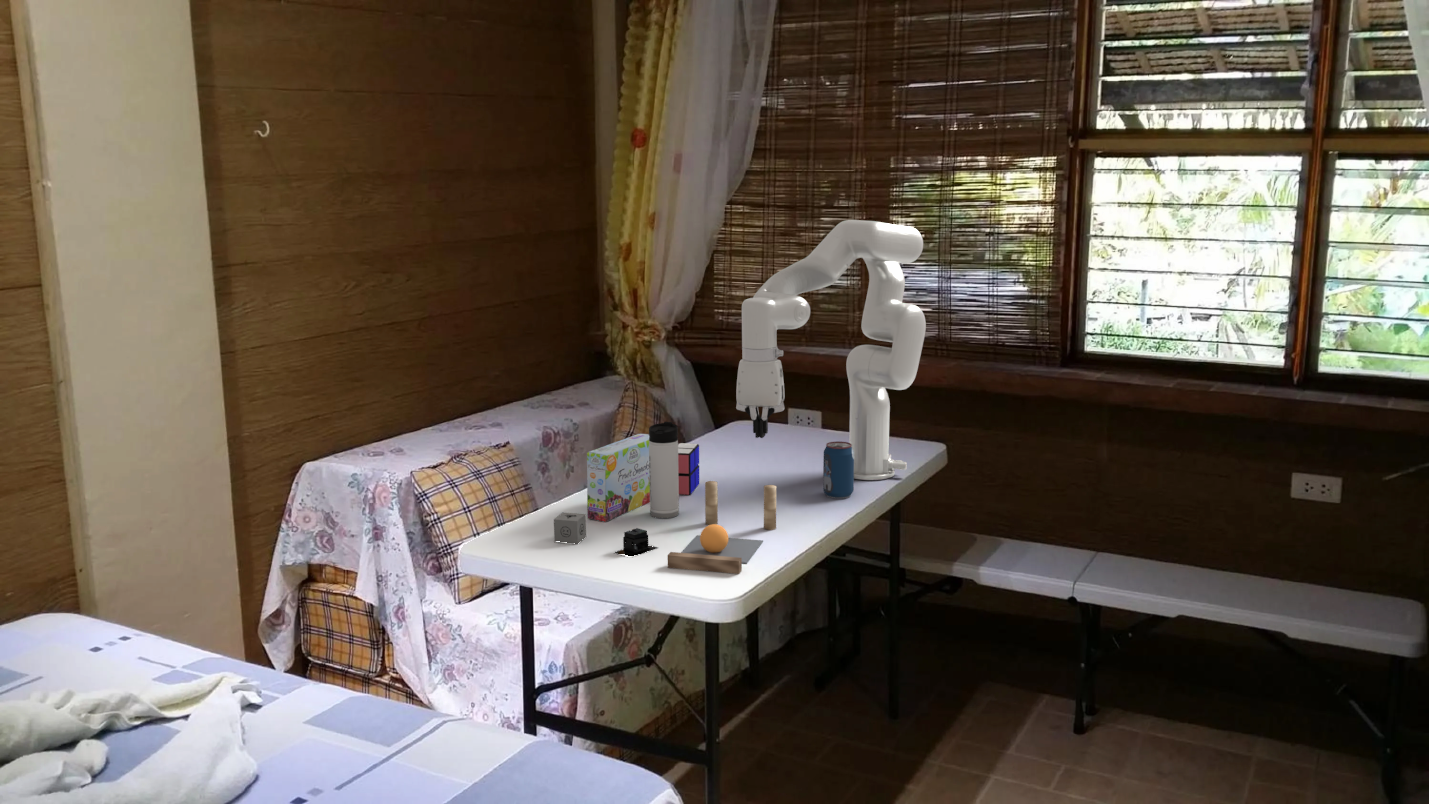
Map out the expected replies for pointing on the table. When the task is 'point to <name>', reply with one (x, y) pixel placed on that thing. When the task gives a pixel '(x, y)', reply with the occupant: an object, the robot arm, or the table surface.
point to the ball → (714, 538)
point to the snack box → (618, 478)
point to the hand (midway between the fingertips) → (760, 436)
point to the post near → (769, 507)
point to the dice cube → (570, 527)
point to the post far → (711, 503)
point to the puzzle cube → (688, 468)
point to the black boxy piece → (635, 542)
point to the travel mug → (663, 470)
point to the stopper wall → (704, 562)
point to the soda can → (838, 470)
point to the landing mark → (727, 548)
